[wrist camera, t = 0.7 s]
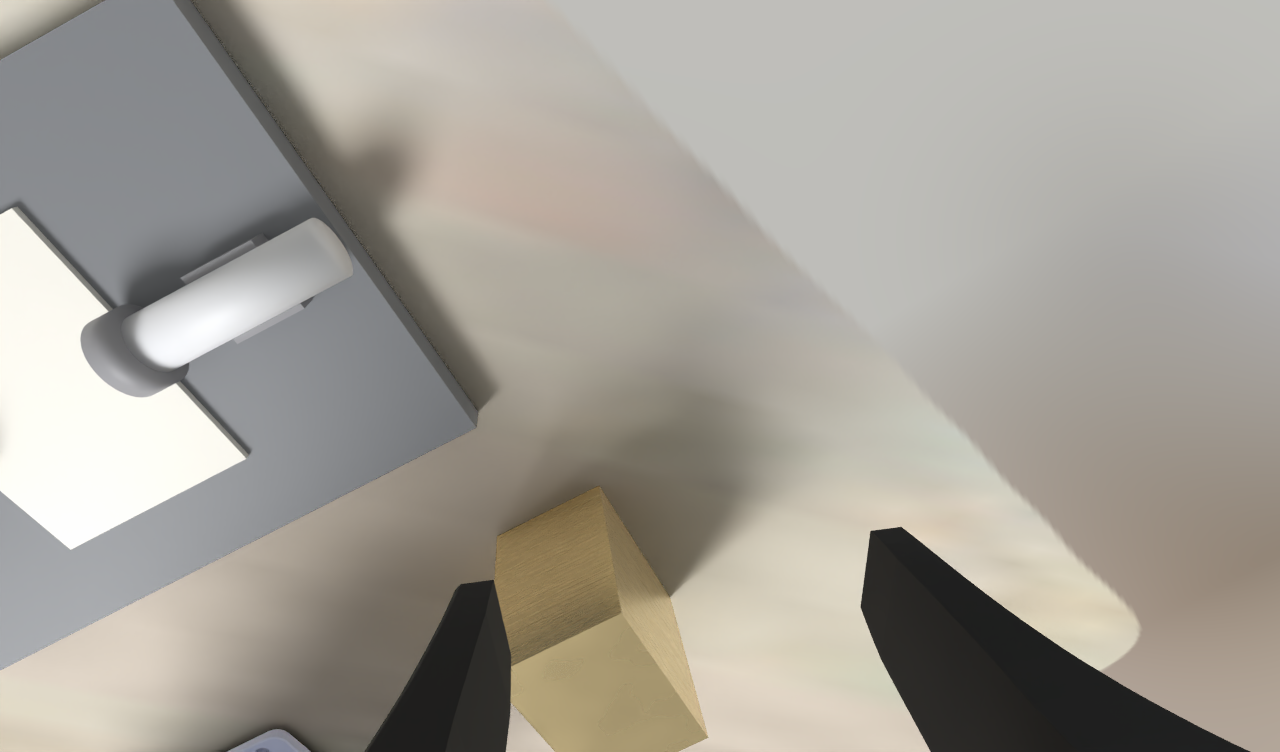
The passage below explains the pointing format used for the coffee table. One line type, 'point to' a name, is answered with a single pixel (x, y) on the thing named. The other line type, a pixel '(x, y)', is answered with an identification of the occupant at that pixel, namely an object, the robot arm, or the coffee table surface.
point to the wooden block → (593, 635)
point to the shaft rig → (176, 324)
